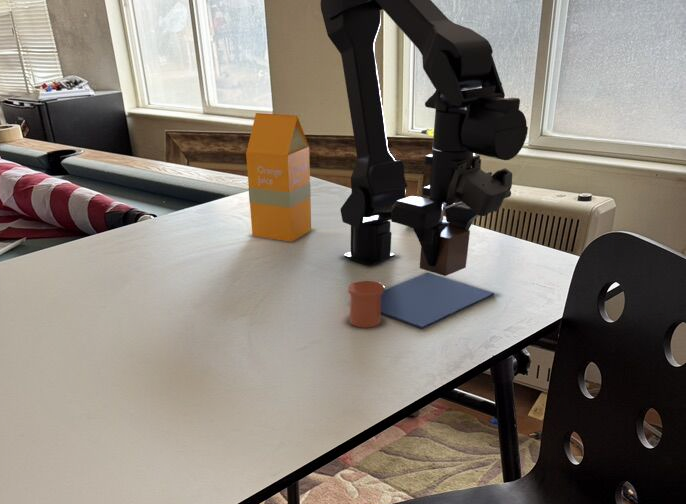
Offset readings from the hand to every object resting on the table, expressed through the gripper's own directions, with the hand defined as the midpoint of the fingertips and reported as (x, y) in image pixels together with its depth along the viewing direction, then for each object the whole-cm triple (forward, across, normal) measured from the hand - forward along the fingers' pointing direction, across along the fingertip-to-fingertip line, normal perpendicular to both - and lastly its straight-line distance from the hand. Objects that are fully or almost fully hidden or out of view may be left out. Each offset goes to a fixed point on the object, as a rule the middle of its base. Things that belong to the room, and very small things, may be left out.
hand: (442, 261), depth 105 cm
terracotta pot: (+4, -17, 0) cm, 18 cm away
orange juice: (+4, +2, +40) cm, 40 cm away
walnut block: (+1, 0, 0) cm, 1 cm away
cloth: (+4, -5, -1) cm, 7 cm away
